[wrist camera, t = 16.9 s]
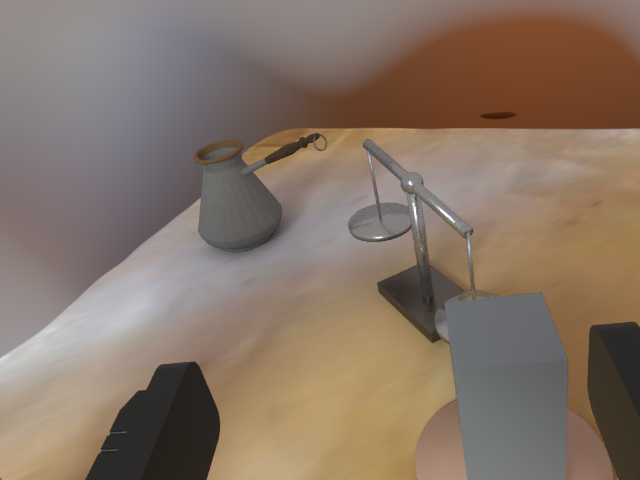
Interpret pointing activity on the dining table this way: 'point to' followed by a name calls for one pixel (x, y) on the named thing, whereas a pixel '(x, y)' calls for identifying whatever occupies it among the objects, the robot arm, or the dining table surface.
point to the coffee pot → (238, 195)
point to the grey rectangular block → (509, 387)
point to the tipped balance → (421, 280)
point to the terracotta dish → (448, 458)
